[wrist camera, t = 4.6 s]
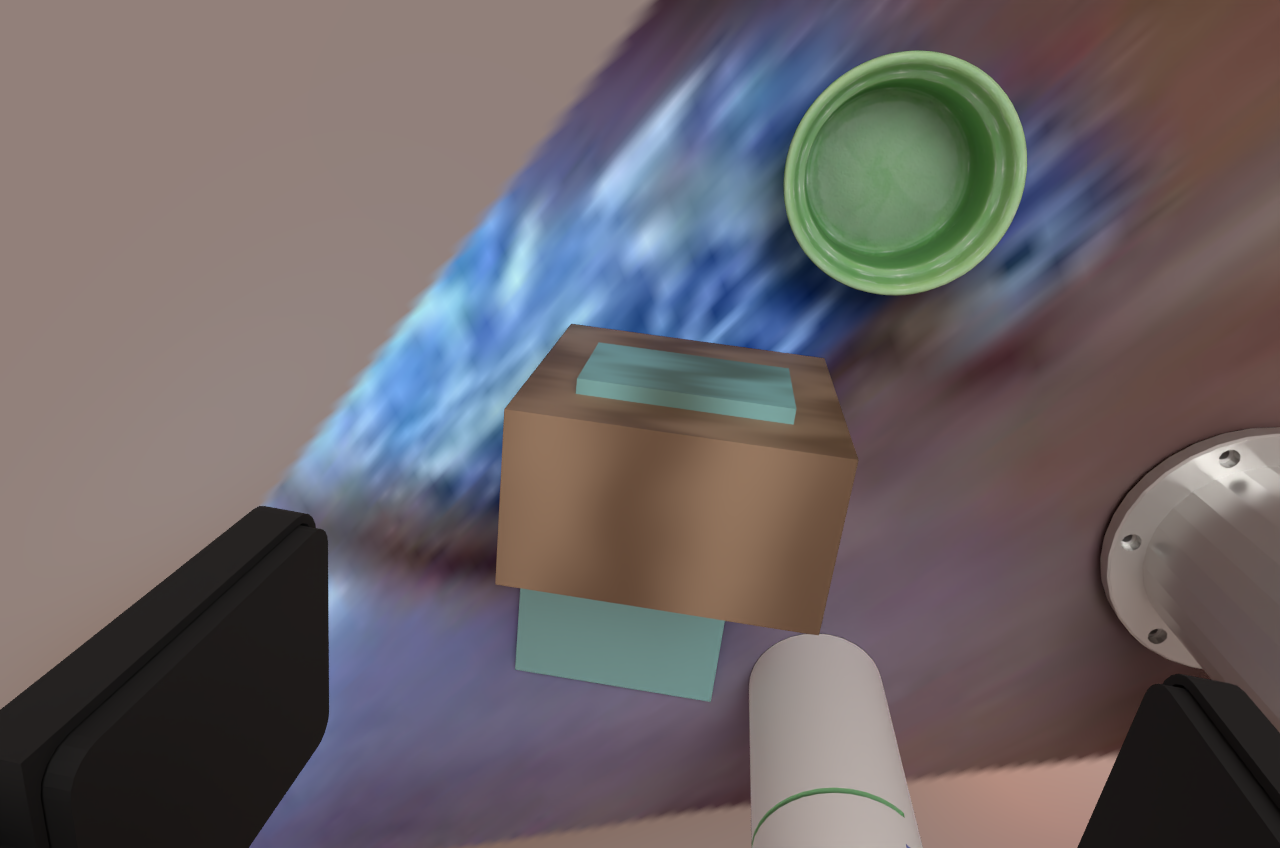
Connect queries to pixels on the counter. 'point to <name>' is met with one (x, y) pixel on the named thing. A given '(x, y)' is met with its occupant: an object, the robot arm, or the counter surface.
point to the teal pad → (618, 644)
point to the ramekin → (905, 173)
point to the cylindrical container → (824, 751)
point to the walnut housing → (676, 478)
